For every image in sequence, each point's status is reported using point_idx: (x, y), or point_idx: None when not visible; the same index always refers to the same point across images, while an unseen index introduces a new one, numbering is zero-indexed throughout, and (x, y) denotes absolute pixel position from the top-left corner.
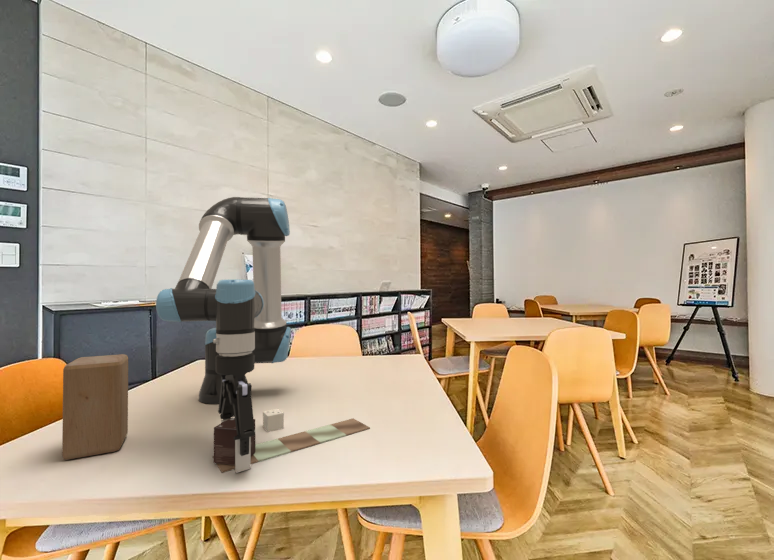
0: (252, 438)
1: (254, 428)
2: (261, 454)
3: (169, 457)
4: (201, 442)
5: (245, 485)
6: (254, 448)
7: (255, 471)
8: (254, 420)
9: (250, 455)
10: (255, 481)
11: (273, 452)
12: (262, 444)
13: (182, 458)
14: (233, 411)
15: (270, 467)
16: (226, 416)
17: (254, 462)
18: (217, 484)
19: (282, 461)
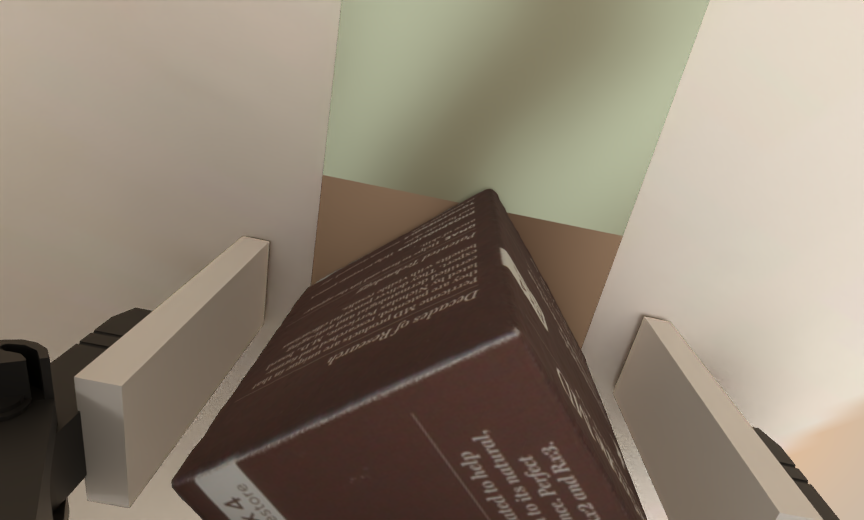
0: (529, 283)
1: (521, 293)
2: (553, 165)
3: (134, 510)
4: (2, 336)
5: (797, 416)
6: (502, 213)
7: (715, 307)
8: (538, 354)
9: (711, 376)
10: (819, 365)
11: (610, 72)
12: (379, 51)
13: None
14: (43, 484)
15: (770, 214)
16: (55, 481)
17: (613, 260)
18: (641, 487)
19: (788, 96)
